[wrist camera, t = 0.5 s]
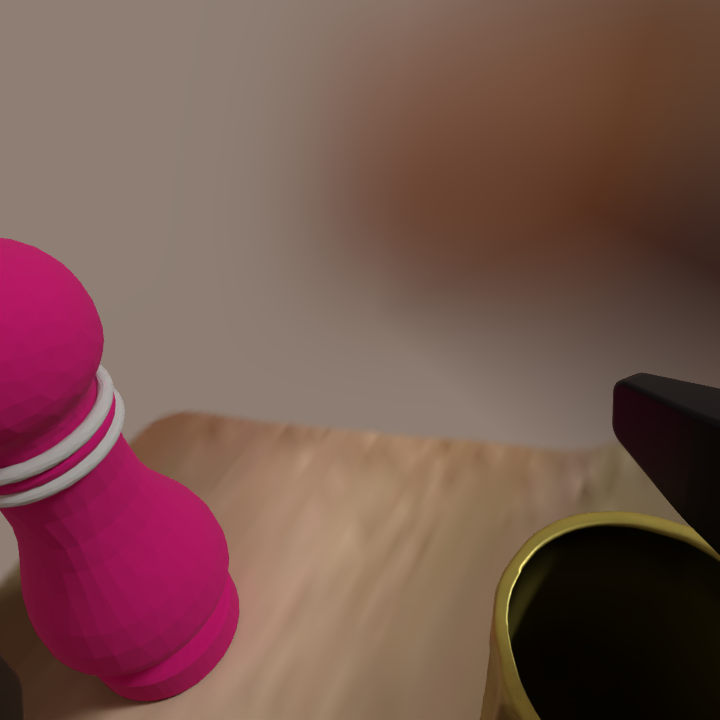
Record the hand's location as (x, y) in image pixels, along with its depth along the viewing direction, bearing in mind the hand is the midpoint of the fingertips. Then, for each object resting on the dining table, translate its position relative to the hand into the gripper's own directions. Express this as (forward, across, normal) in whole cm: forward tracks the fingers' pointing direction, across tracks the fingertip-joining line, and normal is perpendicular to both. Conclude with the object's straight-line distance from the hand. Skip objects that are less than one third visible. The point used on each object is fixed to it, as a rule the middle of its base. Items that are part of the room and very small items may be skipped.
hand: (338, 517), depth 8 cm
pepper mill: (+14, +7, +16) cm, 22 cm away
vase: (+2, -4, +18) cm, 19 cm away
